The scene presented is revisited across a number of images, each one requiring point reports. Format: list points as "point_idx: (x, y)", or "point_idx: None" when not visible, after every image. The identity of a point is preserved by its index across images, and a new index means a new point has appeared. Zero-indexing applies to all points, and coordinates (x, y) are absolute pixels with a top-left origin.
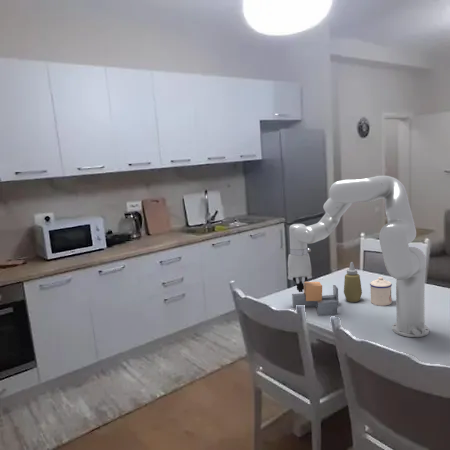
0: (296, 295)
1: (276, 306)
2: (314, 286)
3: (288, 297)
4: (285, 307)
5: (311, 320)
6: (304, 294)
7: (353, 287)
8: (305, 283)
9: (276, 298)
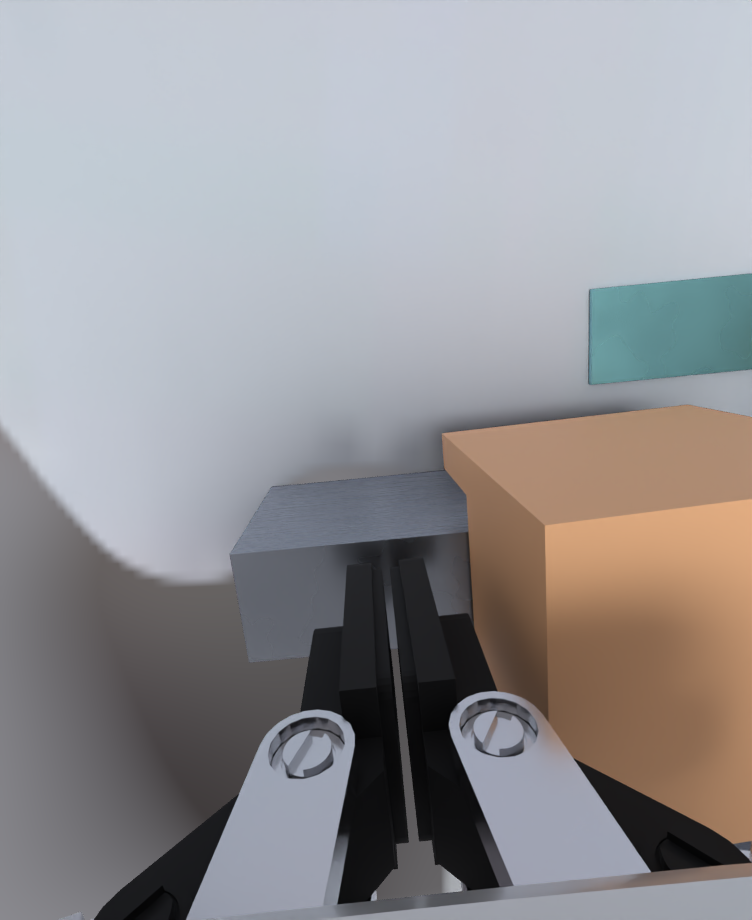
0: (312, 634)
1: (59, 497)
2: (739, 832)
3: (203, 117)
4: (181, 541)
5: (450, 879)
6: (457, 602)
7: None
8: (565, 676)
9: (7, 145)
